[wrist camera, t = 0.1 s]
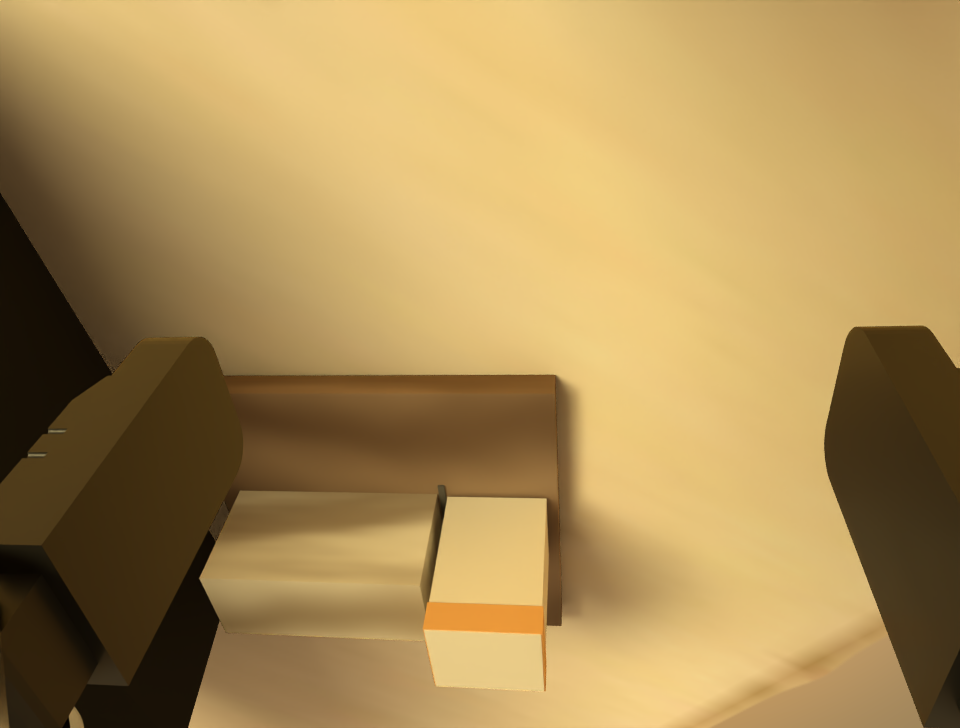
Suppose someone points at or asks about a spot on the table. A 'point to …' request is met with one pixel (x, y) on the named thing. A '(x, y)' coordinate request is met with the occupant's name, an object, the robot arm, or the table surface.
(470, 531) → the orange-striped cream block
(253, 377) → the ticket board
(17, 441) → the uninterruptible power supply
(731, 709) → the table surface
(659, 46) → the table surface
